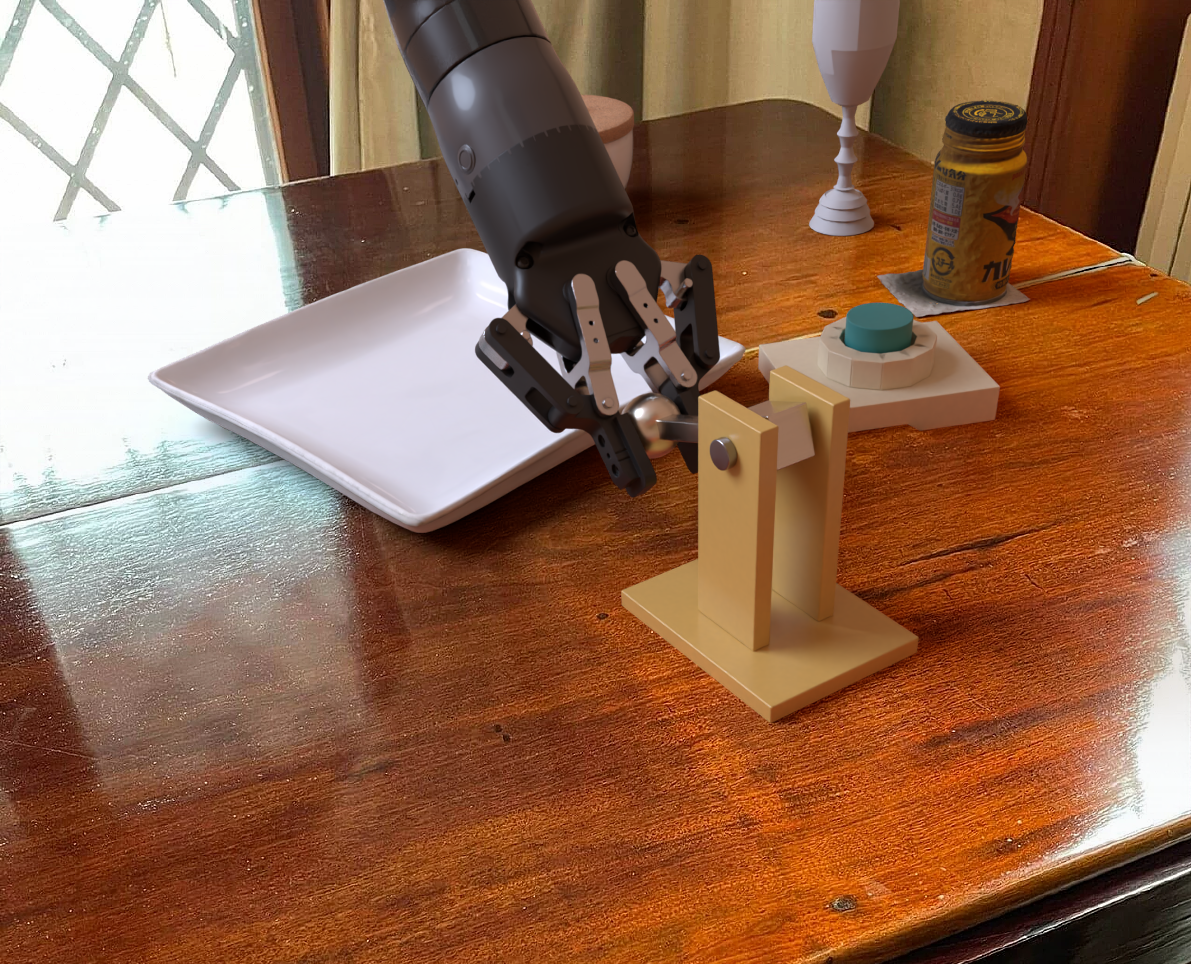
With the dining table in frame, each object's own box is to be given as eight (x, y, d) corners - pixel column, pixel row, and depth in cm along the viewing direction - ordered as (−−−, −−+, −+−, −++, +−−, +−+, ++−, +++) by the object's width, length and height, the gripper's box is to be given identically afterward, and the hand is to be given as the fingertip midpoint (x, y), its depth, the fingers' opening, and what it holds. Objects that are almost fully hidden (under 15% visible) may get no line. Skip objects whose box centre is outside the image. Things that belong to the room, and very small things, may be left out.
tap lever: (615, 464, 72) (601, 402, 71) (666, 445, 73) (653, 384, 72) (769, 483, 61) (756, 410, 60) (826, 461, 62) (814, 389, 61)
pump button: (896, 326, 88) (899, 298, 86) (920, 352, 85) (923, 324, 84) (835, 334, 87) (837, 307, 86) (857, 361, 84) (859, 333, 83)
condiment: (1030, 302, 98) (1059, 119, 90) (916, 319, 97) (935, 135, 89) (984, 265, 103) (1008, 88, 95) (876, 280, 102) (891, 103, 94)
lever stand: (621, 614, 72) (611, 379, 63) (759, 556, 75) (767, 325, 67) (769, 733, 64) (781, 483, 56) (916, 662, 68) (948, 416, 59)
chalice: (834, 247, 107) (851, -20, 95) (777, 223, 111) (787, -35, 99) (906, 224, 110) (932, -38, 98) (848, 201, 114) (866, -52, 102)
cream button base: (932, 352, 93) (939, 293, 90) (995, 420, 85) (1004, 357, 83) (757, 376, 91) (759, 317, 89) (805, 447, 84) (809, 385, 81)
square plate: (152, 426, 90) (136, 368, 88) (471, 292, 104) (465, 239, 101) (423, 576, 75) (413, 513, 73) (753, 397, 89) (754, 338, 87)
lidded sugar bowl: (651, 229, 112) (648, 103, 105) (519, 247, 110) (509, 120, 104) (619, 186, 120) (614, 66, 113) (495, 202, 118) (484, 81, 112)
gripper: (617, 174, 76) (751, 463, 77) (387, 238, 71) (533, 548, 71) (674, 91, 70) (821, 408, 70) (424, 154, 64) (585, 498, 64)
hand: (674, 477), depth 71 cm, fingers closed on tap lever, 3 cm apart
